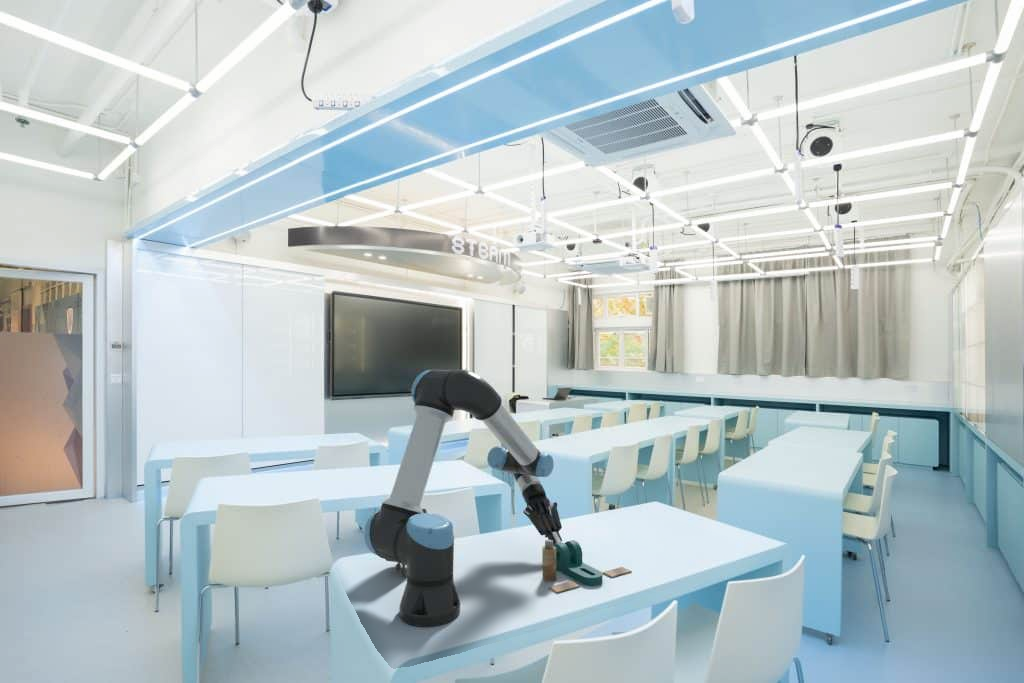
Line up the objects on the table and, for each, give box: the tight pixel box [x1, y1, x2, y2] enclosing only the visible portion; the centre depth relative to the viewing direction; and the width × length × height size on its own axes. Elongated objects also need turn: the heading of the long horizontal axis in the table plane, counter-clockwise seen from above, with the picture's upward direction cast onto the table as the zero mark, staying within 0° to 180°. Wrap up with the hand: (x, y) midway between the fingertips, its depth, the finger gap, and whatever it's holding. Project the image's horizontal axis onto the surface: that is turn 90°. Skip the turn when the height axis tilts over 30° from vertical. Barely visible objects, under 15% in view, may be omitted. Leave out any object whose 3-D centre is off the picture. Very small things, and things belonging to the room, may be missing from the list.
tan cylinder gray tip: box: [541, 539, 557, 583], centre depth 157 cm, size 4×4×11 cm
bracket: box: [553, 539, 603, 587], centre depth 161 cm, size 18×7×8 cm, turn 32°
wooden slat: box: [548, 566, 633, 594], centre depth 156 cm, size 28×4×1 cm, turn 122°
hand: (561, 552), depth 170 cm, fingers closed
